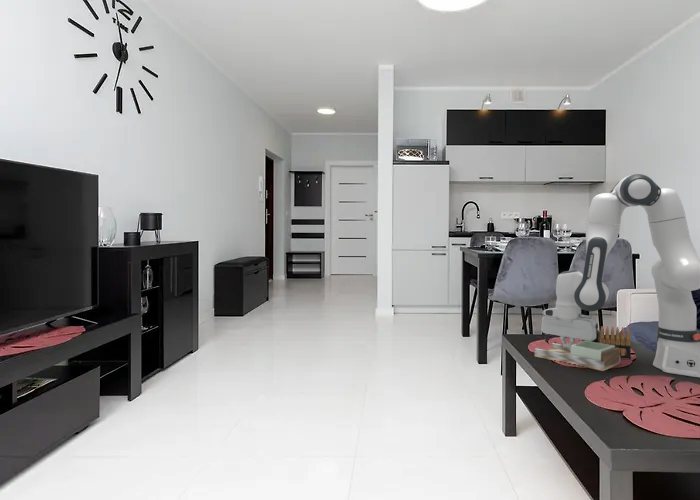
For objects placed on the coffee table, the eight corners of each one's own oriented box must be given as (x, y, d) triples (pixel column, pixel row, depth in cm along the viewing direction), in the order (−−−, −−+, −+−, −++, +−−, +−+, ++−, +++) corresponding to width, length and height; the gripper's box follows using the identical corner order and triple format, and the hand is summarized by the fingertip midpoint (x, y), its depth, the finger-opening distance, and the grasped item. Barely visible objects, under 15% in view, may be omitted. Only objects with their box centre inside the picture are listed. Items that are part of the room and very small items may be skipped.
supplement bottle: (591, 356, 187) (592, 325, 187) (577, 352, 194) (577, 322, 193) (604, 354, 190) (604, 323, 189) (590, 350, 196) (590, 321, 196)
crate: (614, 359, 177) (614, 345, 176) (601, 365, 170) (601, 350, 170) (584, 353, 185) (584, 340, 185) (570, 359, 178) (570, 345, 178)
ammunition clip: (630, 358, 184) (630, 327, 183) (631, 359, 182) (631, 327, 182) (598, 355, 187) (599, 325, 187) (599, 357, 186) (599, 326, 185)
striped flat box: (620, 363, 177) (620, 347, 176) (603, 370, 168) (603, 353, 168) (553, 350, 197) (553, 335, 197) (534, 356, 188) (534, 341, 188)
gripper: (599, 315, 178) (599, 352, 178) (547, 308, 194) (547, 342, 194) (591, 317, 174) (591, 355, 174) (539, 310, 190) (538, 344, 190)
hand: (567, 348), depth 185 cm, fingers closed
